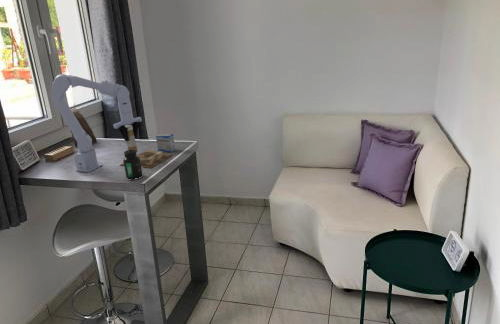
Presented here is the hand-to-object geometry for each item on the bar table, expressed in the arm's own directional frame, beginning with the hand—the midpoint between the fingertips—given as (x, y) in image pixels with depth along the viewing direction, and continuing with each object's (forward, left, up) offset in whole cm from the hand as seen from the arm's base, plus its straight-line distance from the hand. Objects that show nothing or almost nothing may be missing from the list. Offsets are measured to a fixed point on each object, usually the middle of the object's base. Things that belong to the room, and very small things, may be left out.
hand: (130, 139), depth 191 cm
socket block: (0, -7, -10) cm, 13 cm away
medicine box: (+15, -9, -11) cm, 21 cm away
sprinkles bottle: (0, 0, -7) cm, 7 cm away
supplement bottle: (-20, -15, -11) cm, 27 cm away
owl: (+18, +48, -11) cm, 52 cm away
